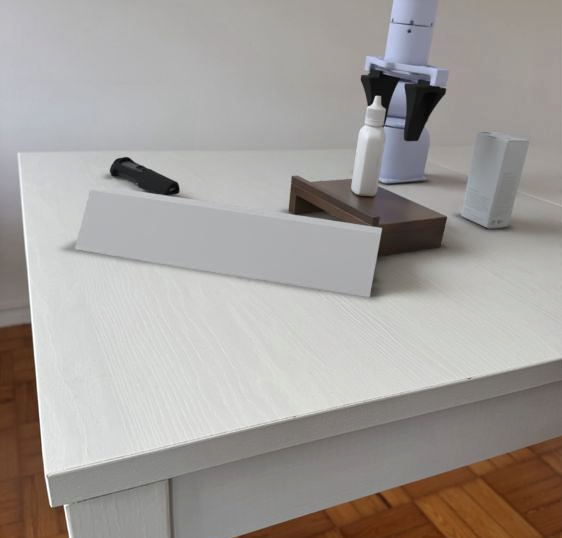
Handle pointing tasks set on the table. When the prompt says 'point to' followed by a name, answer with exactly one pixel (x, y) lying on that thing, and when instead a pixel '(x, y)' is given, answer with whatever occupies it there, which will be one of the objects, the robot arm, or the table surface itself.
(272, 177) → the table surface
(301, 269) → the molding piece
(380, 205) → the shelf
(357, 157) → the eye dropper bottle
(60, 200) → the table surface
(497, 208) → the cosmetic box
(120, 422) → the table surface
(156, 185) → the electric trimmer
